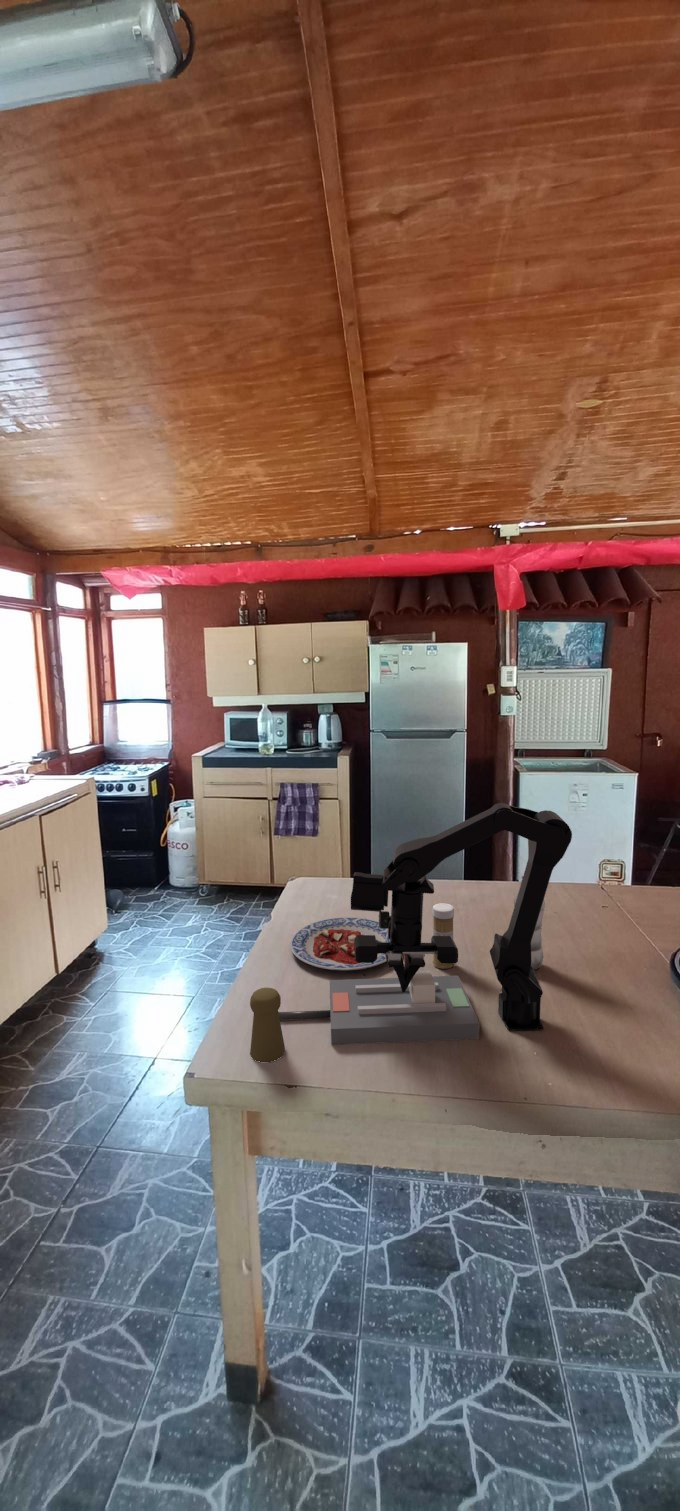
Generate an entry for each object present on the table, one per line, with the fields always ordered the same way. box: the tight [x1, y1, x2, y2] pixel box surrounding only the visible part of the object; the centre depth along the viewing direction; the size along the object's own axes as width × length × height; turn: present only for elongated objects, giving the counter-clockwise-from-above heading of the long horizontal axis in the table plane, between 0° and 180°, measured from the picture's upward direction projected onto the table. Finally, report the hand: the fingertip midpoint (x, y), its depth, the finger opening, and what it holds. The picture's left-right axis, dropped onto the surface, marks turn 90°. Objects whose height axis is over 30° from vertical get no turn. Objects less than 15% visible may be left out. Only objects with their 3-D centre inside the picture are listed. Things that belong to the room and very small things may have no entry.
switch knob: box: [409, 970, 435, 1004], centre depth 110 cm, size 4×5×4 cm
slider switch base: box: [278, 975, 480, 1046], centre depth 110 cm, size 36×16×4 cm, turn 92°
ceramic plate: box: [289, 916, 390, 971], centre depth 137 cm, size 26×26×3 cm
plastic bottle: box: [513, 875, 546, 971], centre depth 126 cm, size 6×7×20 cm
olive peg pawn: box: [249, 987, 286, 1063], centre depth 100 cm, size 6×6×11 cm
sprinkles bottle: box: [432, 902, 455, 970], centre depth 128 cm, size 5×5×14 cm
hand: (403, 991), depth 110 cm, fingers closed
